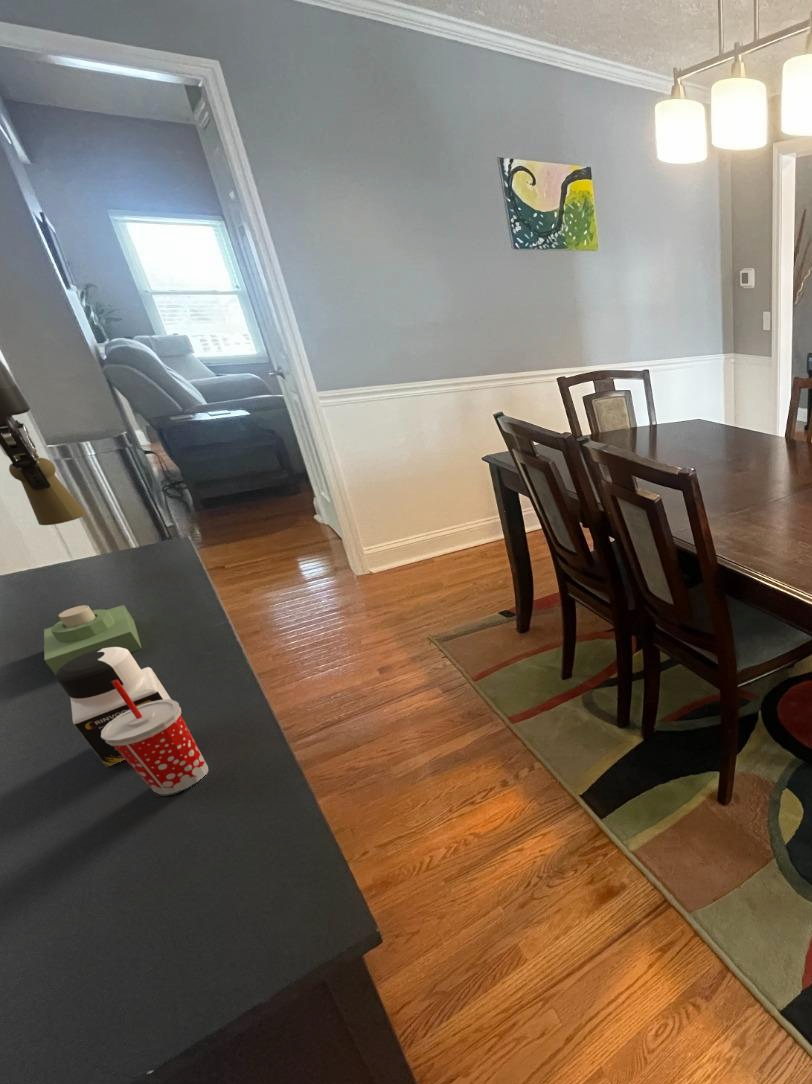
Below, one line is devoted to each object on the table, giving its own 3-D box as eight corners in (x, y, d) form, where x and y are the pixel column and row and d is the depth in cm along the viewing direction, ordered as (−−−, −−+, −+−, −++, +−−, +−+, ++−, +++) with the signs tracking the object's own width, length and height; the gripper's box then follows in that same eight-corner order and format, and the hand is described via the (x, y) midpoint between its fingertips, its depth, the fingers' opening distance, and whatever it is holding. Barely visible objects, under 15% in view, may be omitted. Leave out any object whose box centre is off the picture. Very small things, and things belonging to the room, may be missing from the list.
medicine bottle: (107, 769, 68) (44, 687, 63) (102, 740, 73) (43, 661, 67) (186, 734, 73) (135, 655, 67) (178, 709, 77) (128, 632, 71)
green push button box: (141, 648, 90) (124, 621, 88) (57, 678, 84) (36, 649, 82) (134, 621, 97) (117, 595, 95) (56, 646, 92) (36, 619, 89)
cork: (35, 520, 106) (-3, 461, 101) (82, 509, 111) (47, 452, 106) (42, 527, 103) (3, 467, 98) (90, 516, 108) (55, 457, 103)
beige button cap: (96, 621, 89) (89, 610, 88) (66, 631, 87) (58, 619, 86) (95, 614, 91) (88, 602, 90) (66, 623, 89) (58, 611, 88)
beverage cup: (229, 755, 69) (169, 658, 63) (195, 797, 64) (126, 696, 57) (170, 763, 69) (103, 666, 62) (131, 806, 63) (53, 705, 57)
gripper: (-52, 385, 98) (11, 482, 106) (-59, 395, 89) (9, 500, 97) (15, 377, 103) (70, 471, 111) (14, 387, 94) (74, 487, 102)
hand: (42, 484), depth 104 cm, fingers closed on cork, 5 cm apart
